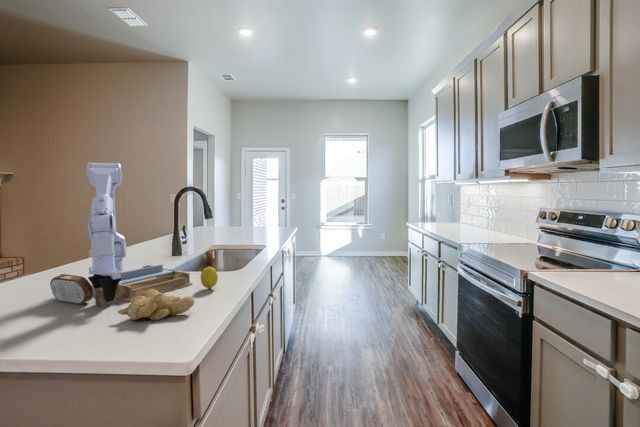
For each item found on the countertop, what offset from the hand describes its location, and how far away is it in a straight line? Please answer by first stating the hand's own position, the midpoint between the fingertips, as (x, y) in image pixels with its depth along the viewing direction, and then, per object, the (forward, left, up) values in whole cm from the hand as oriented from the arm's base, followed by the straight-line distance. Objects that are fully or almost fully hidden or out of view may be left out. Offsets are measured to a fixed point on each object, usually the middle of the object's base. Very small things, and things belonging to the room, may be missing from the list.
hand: (105, 299), depth 108 cm
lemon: (+14, +27, -2) cm, 30 cm away
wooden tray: (-5, +16, -1) cm, 17 cm away
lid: (-9, +16, +2) cm, 19 cm away
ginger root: (+22, +2, -2) cm, 22 cm away
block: (0, 0, -1) cm, 1 cm away
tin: (-10, -4, -2) cm, 11 cm away
